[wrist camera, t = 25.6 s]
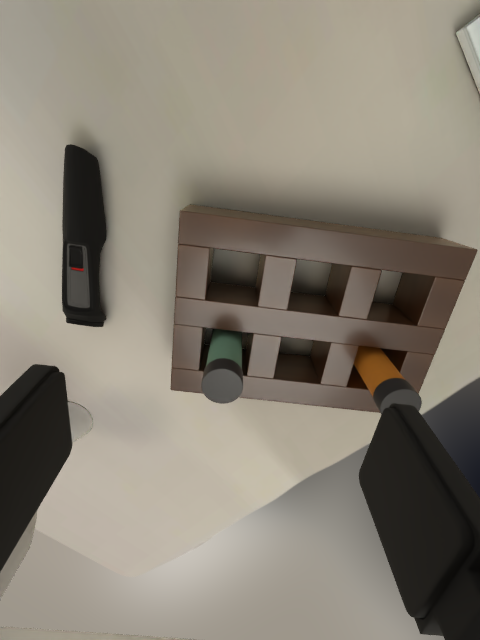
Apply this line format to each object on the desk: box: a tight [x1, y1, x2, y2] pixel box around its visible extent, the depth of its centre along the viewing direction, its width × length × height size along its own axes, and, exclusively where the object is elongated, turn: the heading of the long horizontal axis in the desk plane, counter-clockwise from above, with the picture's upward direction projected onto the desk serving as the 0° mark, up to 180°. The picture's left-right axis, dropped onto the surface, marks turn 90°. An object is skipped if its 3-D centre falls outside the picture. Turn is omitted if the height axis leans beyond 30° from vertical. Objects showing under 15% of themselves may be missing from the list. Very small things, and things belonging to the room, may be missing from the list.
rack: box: [171, 204, 477, 413], centre depth 30 cm, size 16×22×5 cm
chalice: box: [0, 402, 93, 599], centre depth 30 cm, size 7×7×18 cm
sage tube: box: [201, 329, 243, 403], centre depth 29 cm, size 3×3×10 cm
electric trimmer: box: [62, 145, 106, 327], centre depth 29 cm, size 4×16×3 cm, turn 170°
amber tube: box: [354, 346, 422, 414], centre depth 29 cm, size 3×3×10 cm
